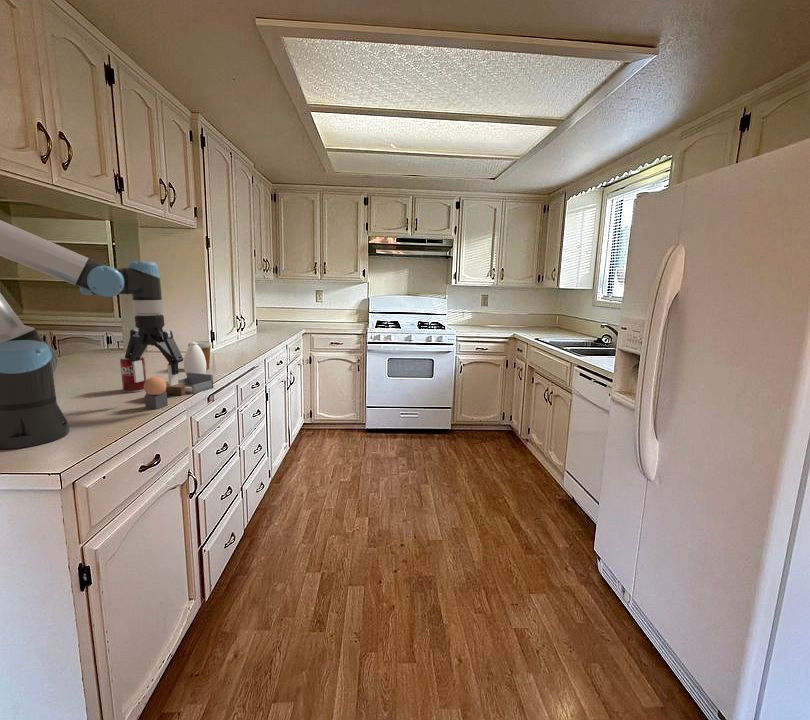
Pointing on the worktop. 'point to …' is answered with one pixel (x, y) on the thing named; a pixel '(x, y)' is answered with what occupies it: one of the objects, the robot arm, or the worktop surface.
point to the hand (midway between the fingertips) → (156, 383)
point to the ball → (154, 386)
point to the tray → (197, 382)
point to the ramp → (175, 389)
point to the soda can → (131, 376)
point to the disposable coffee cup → (205, 350)
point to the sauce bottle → (194, 359)
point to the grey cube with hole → (156, 401)
